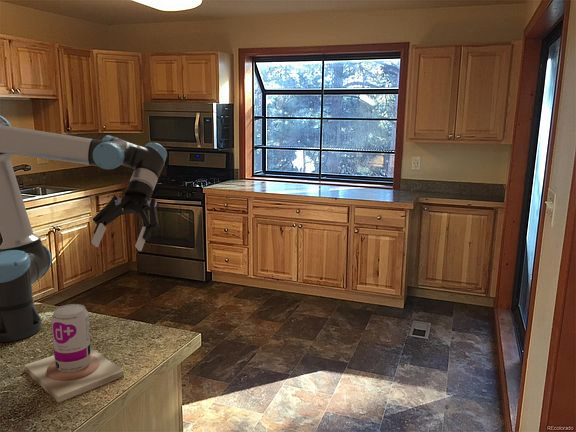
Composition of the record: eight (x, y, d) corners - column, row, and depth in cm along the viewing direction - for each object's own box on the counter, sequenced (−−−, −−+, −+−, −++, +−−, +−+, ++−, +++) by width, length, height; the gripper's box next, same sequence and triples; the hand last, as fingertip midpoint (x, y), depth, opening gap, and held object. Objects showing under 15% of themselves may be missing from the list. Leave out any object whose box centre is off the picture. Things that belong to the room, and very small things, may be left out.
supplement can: (78, 375, 116) (74, 317, 113) (48, 371, 117) (43, 314, 114) (97, 359, 123) (94, 304, 120) (69, 355, 125) (65, 301, 122)
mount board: (24, 370, 121) (24, 362, 121) (86, 349, 133) (86, 342, 133) (58, 402, 108) (57, 394, 108) (123, 376, 120) (123, 368, 119)
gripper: (183, 196, 147) (161, 257, 135) (109, 191, 152) (83, 249, 140) (175, 181, 140) (151, 243, 129) (99, 177, 146) (70, 236, 134)
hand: (116, 246), depth 135 cm, fingers open, 13 cm apart
